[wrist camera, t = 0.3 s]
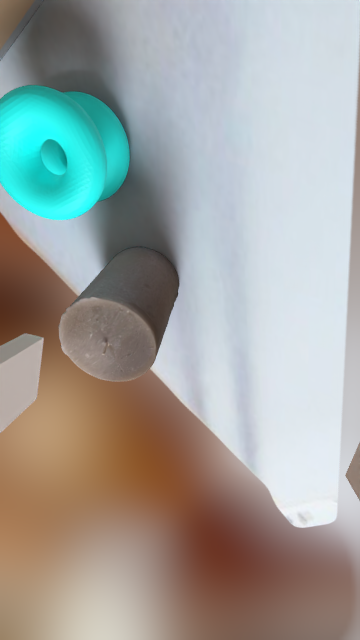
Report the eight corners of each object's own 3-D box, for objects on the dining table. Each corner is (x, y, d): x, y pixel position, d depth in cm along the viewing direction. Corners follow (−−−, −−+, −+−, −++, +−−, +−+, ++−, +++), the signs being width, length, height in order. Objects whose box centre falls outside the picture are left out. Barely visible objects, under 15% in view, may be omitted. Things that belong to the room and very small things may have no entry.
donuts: (-48, 125, 25) (49, 53, 22) (22, 123, 33) (100, 70, 30) (31, 240, 29) (122, 195, 26) (76, 213, 38) (149, 176, 34)
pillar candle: (190, 302, 42) (172, 380, 29) (127, 322, 45) (85, 400, 32) (159, 234, 38) (123, 289, 25) (92, 261, 41) (28, 322, 28)
